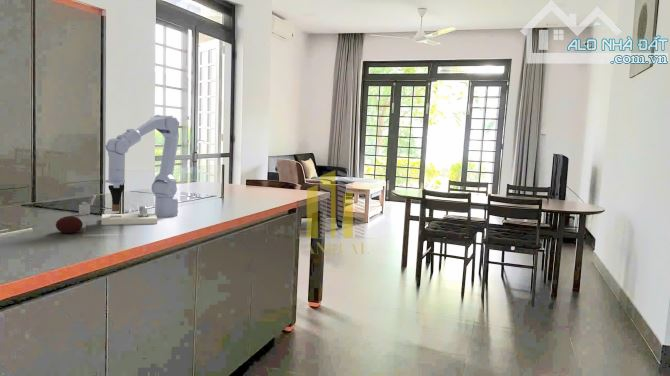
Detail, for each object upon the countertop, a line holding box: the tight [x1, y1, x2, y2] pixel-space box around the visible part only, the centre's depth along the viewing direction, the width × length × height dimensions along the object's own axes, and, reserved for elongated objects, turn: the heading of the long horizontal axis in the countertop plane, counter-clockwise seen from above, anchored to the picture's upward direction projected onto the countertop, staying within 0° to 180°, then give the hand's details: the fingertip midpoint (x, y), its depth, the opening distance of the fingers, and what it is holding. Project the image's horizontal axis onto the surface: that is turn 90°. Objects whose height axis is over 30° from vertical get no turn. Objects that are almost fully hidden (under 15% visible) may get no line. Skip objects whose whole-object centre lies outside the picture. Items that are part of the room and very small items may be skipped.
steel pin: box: [139, 205, 148, 217], centre depth 191 cm, size 3×3×6 cm
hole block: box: [100, 213, 158, 226], centre depth 189 cm, size 20×10×3 cm, turn 115°
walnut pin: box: [111, 201, 121, 212], centre depth 186 cm, size 3×3×8 cm
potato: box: [55, 215, 84, 234], centre depth 168 cm, size 7×8×6 cm
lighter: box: [78, 194, 97, 216], centre depth 201 cm, size 7×2×8 cm, turn 156°
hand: (116, 203), depth 186 cm, fingers closed on walnut pin, 3 cm apart
